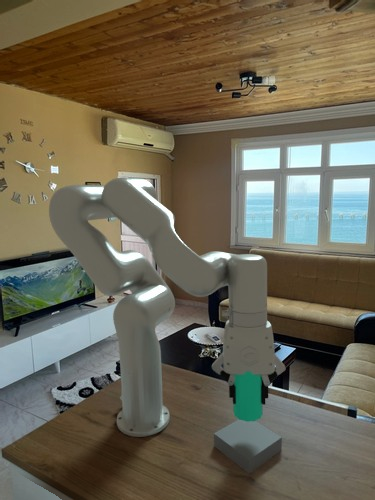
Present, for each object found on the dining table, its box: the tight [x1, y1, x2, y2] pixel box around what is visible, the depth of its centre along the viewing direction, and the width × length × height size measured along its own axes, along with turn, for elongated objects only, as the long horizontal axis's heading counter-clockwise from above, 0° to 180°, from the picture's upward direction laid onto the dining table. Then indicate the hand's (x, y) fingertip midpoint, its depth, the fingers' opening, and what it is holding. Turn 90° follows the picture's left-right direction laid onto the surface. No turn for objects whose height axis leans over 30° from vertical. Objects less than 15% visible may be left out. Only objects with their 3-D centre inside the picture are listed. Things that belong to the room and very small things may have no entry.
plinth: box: [213, 418, 283, 474], centre depth 76 cm, size 10×10×3 cm
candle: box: [232, 372, 264, 422], centre depth 74 cm, size 6×6×12 cm
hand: (248, 399), depth 75 cm, fingers closed on candle, 5 cm apart
